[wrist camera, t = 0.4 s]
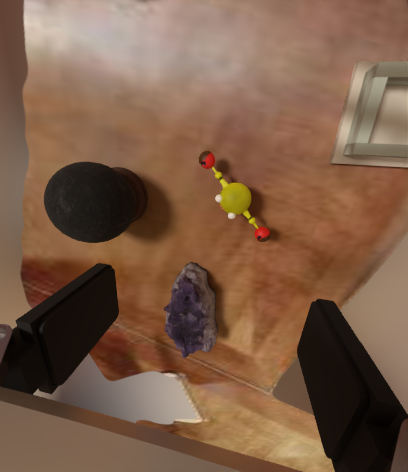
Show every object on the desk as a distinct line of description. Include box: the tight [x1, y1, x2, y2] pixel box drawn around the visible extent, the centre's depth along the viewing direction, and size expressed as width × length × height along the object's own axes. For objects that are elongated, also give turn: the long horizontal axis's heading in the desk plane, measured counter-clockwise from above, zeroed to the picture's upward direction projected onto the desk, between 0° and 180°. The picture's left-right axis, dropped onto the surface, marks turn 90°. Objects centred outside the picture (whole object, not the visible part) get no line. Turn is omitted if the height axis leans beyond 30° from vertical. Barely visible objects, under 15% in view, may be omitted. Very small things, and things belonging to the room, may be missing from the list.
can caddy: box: [330, 61, 408, 167], centre depth 28 cm, size 13×13×4 cm
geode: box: [164, 262, 218, 358], centre depth 43 cm, size 20×12×10 cm, turn 5°
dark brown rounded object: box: [44, 162, 148, 243], centre depth 35 cm, size 13×13×15 cm
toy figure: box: [199, 151, 270, 242], centre depth 34 cm, size 18×6×7 cm, turn 39°
